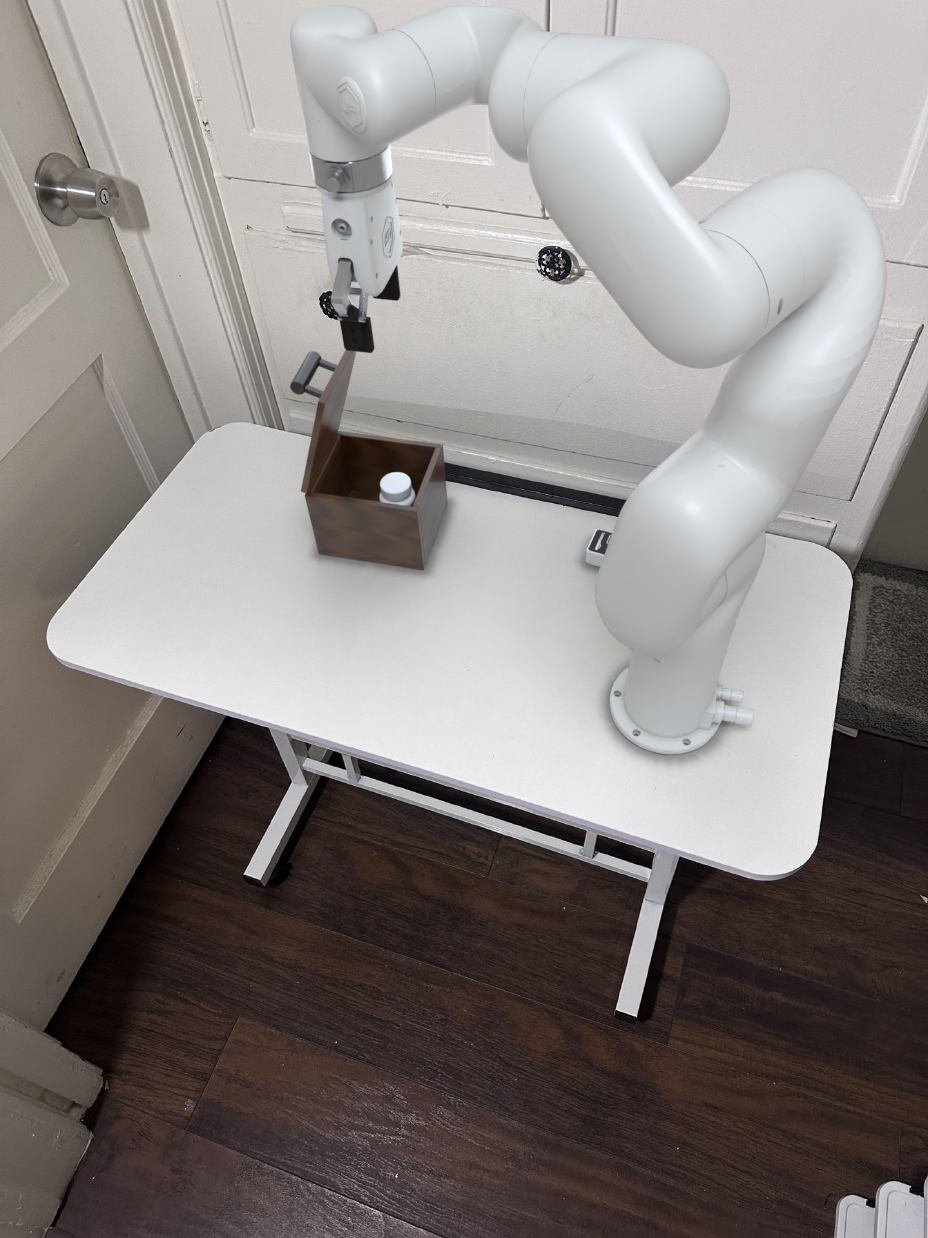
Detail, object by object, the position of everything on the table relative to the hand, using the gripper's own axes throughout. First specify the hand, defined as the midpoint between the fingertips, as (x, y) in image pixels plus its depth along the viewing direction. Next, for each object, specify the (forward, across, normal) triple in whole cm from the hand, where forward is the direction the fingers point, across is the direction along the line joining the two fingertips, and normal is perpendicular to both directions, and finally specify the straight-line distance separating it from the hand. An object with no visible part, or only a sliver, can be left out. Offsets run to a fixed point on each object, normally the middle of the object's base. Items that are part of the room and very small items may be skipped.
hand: (373, 323), depth 99 cm
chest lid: (+14, 0, +7) cm, 16 cm away
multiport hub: (+32, 0, -32) cm, 46 cm away
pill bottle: (+32, 0, 0) cm, 32 cm away
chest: (+32, 0, +2) cm, 32 cm away
